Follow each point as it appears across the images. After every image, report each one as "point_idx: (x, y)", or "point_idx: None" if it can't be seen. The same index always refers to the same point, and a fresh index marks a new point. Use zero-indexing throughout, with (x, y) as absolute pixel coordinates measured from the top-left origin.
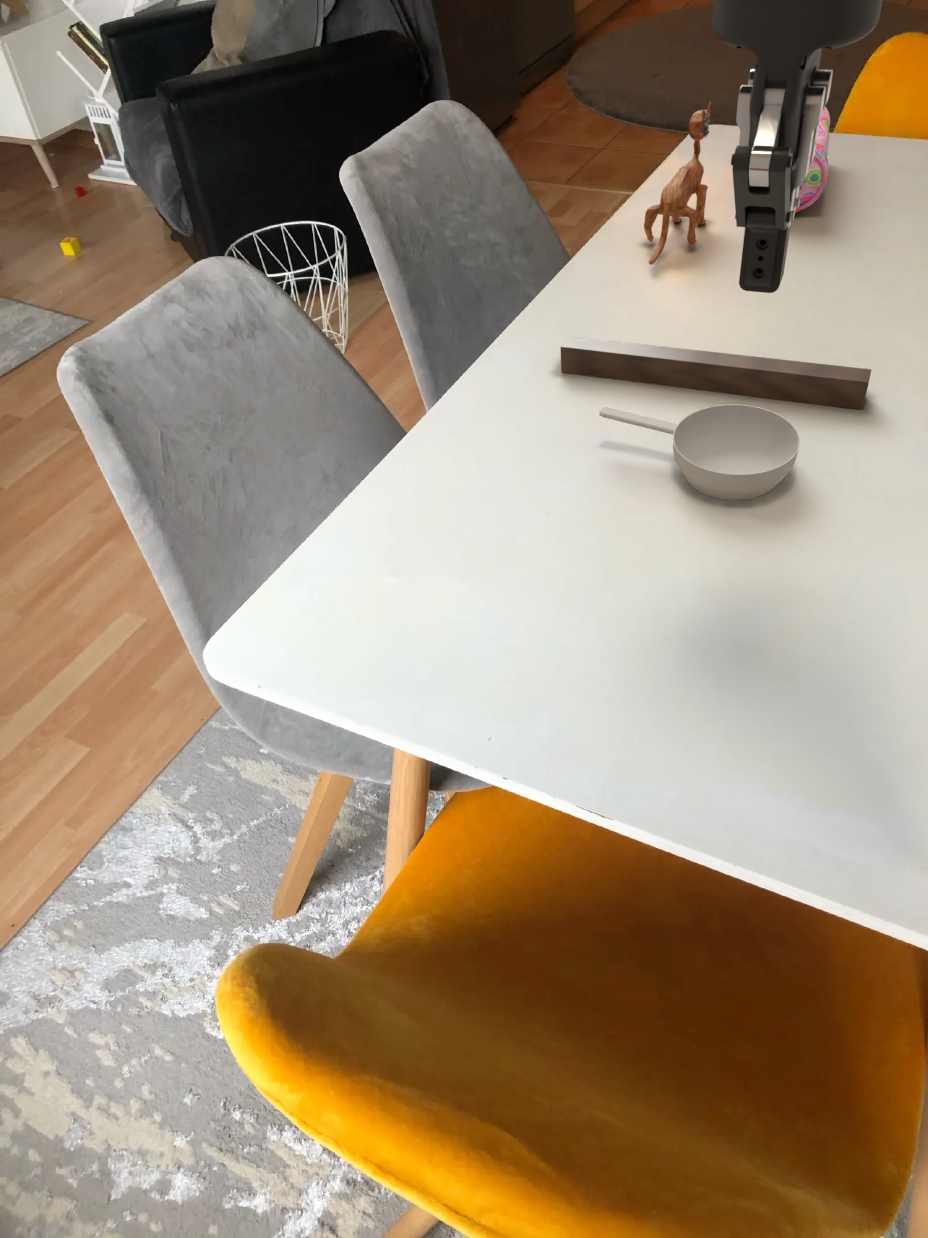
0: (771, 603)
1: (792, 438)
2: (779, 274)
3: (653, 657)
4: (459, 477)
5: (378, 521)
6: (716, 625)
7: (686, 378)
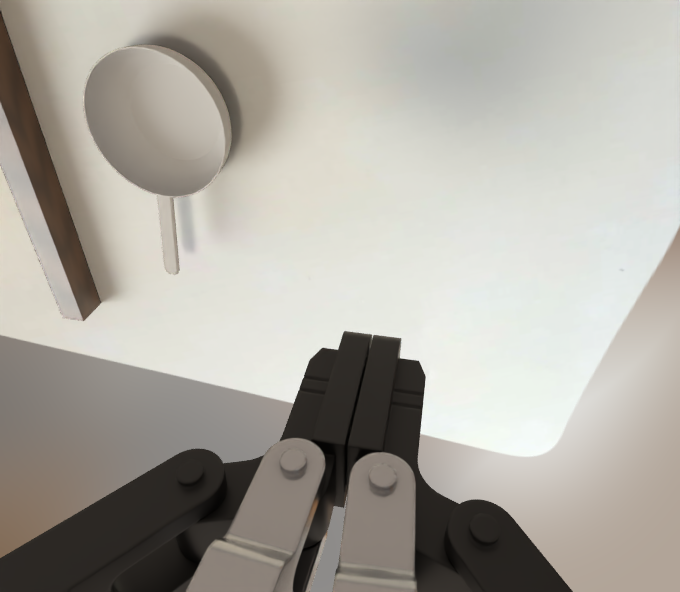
0: (387, 31)
1: (112, 55)
2: (395, 361)
3: (497, 147)
4: (286, 353)
5: None
6: (437, 89)
7: (52, 190)
